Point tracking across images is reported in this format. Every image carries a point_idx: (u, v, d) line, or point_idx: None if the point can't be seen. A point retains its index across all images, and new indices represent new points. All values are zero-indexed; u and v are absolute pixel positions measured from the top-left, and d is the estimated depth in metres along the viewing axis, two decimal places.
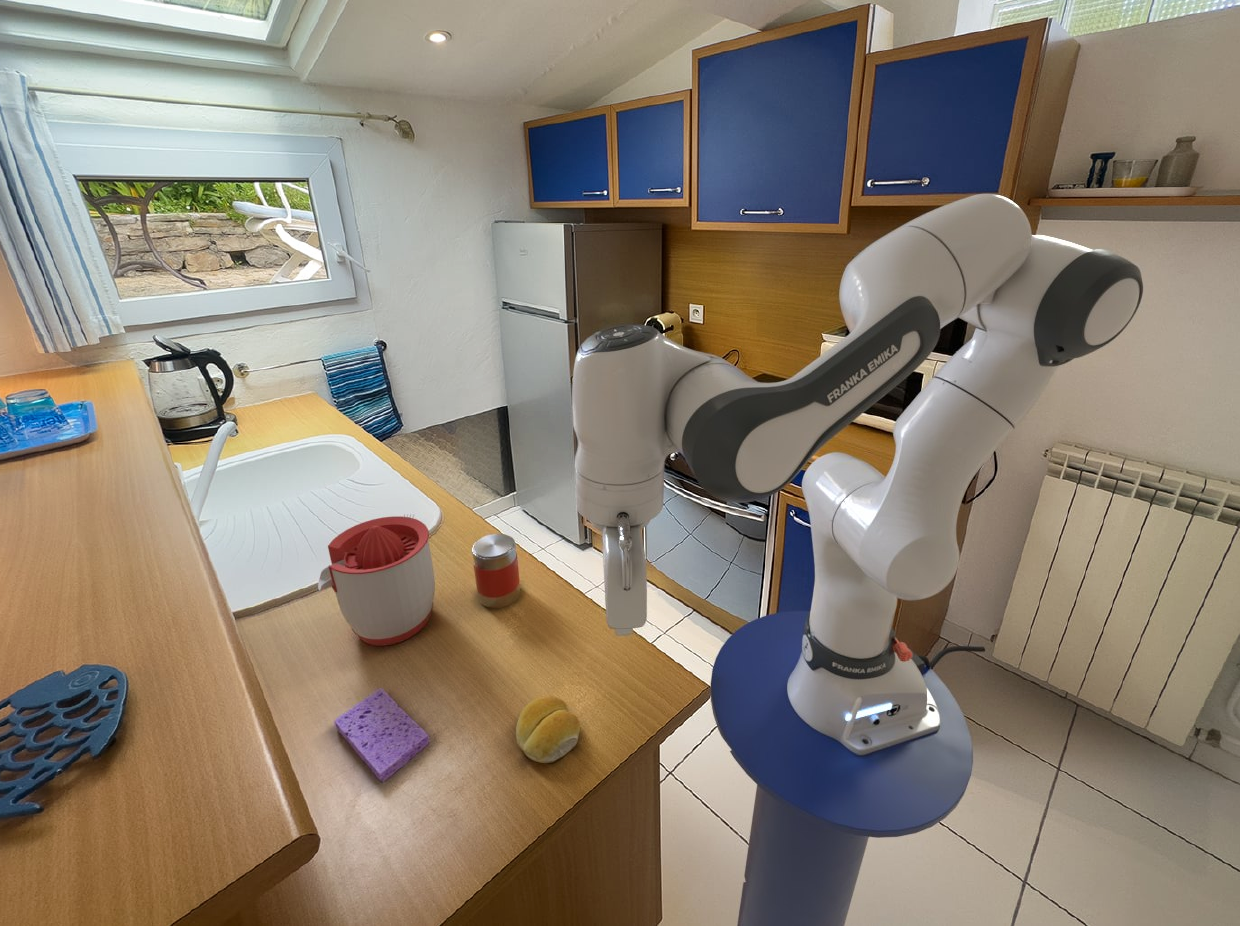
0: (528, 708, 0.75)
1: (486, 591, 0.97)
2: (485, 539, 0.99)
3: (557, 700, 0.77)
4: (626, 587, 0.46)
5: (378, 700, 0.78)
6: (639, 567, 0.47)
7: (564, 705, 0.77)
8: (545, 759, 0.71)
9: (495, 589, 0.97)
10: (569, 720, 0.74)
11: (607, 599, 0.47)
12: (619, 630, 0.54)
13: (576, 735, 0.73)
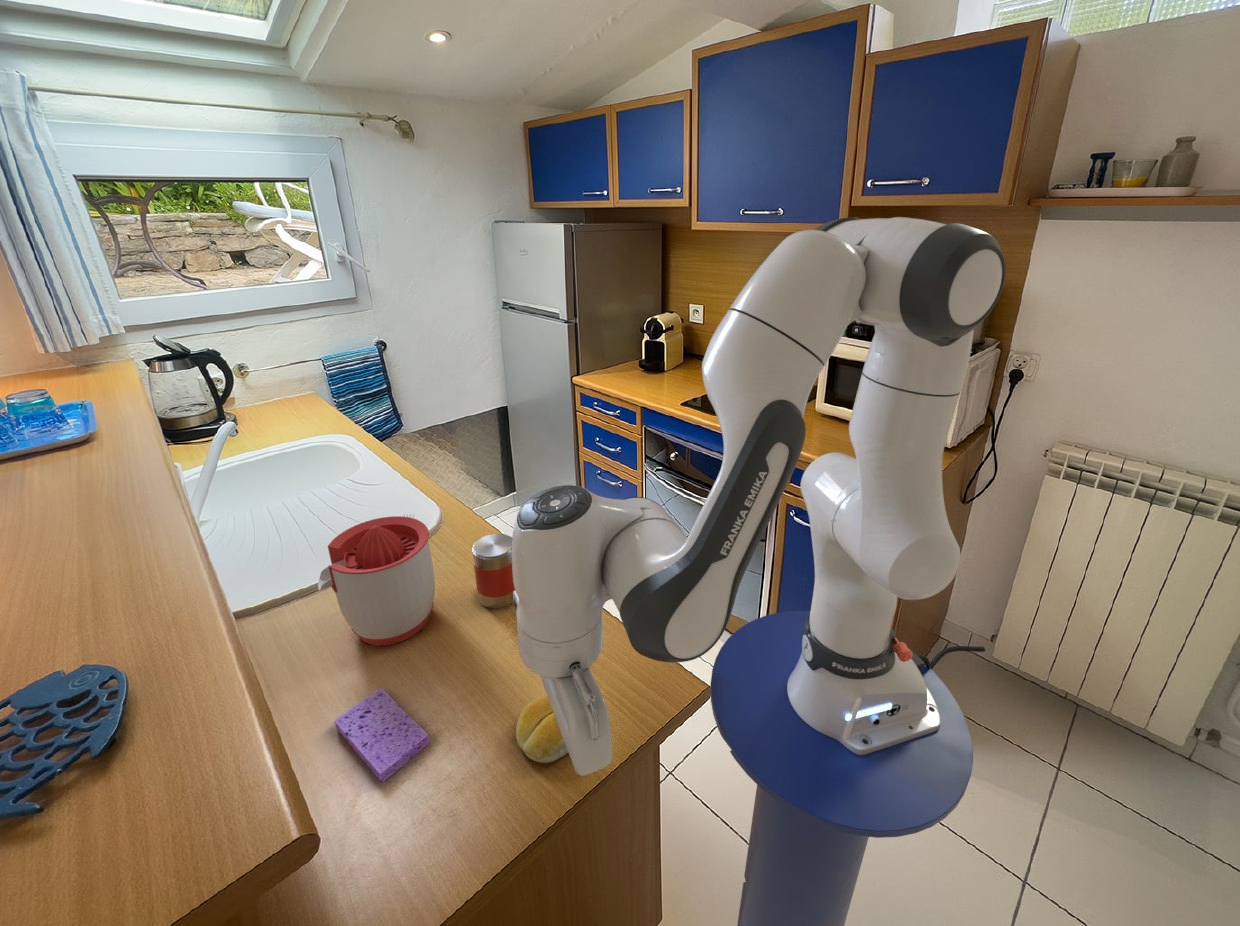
0: (528, 708, 0.75)
1: (486, 591, 0.97)
2: (485, 539, 0.99)
3: None
4: (595, 739, 0.50)
5: (378, 700, 0.78)
6: (603, 716, 0.51)
7: None
8: (545, 759, 0.71)
9: (495, 589, 0.97)
10: None
11: (577, 753, 0.50)
12: None
13: None
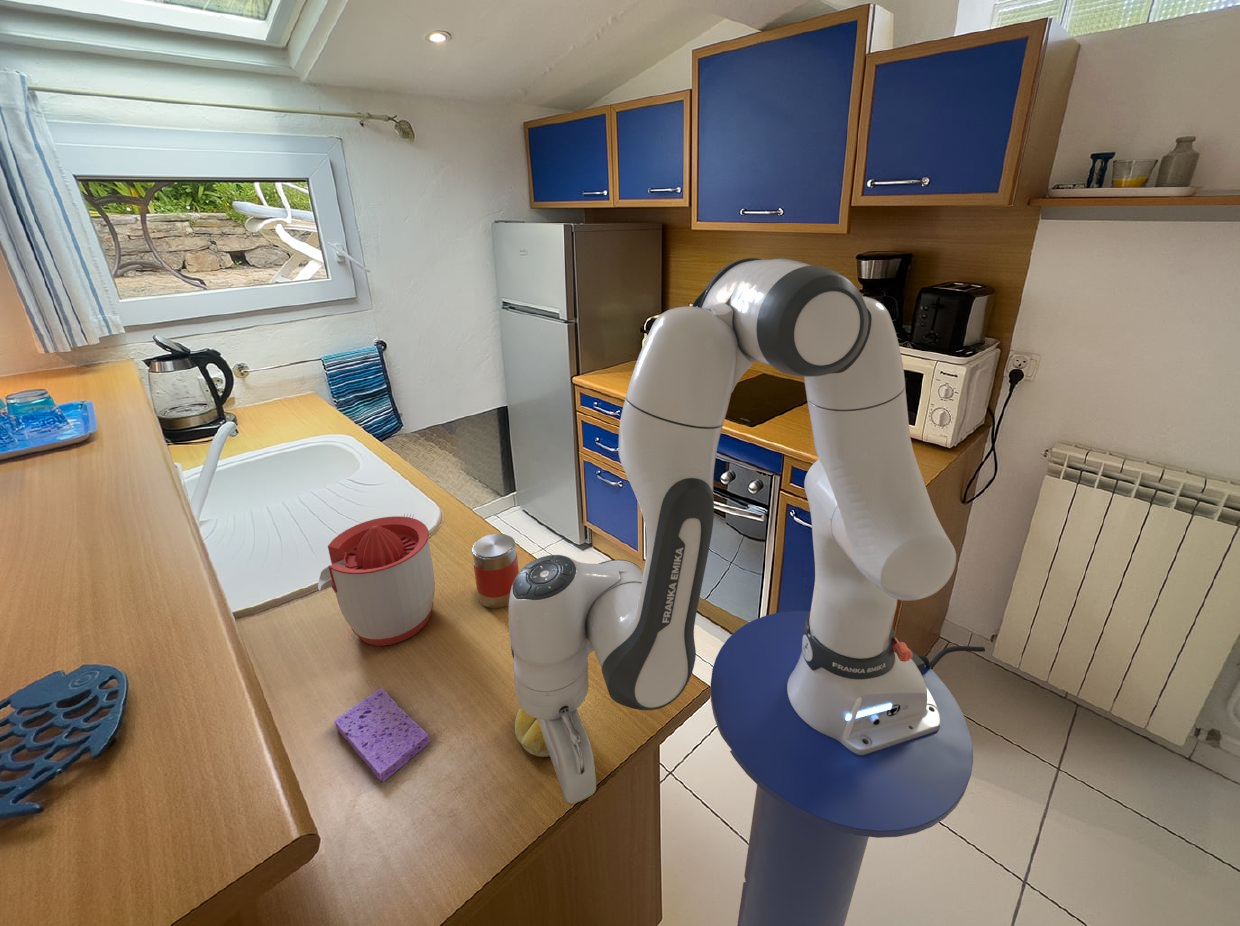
0: None
1: (486, 591, 0.97)
2: (485, 539, 0.99)
3: None
4: (581, 773, 0.59)
5: (378, 700, 0.78)
6: (588, 753, 0.60)
7: None
8: (543, 753, 0.72)
9: (495, 589, 0.97)
10: None
11: (566, 785, 0.59)
12: None
13: None
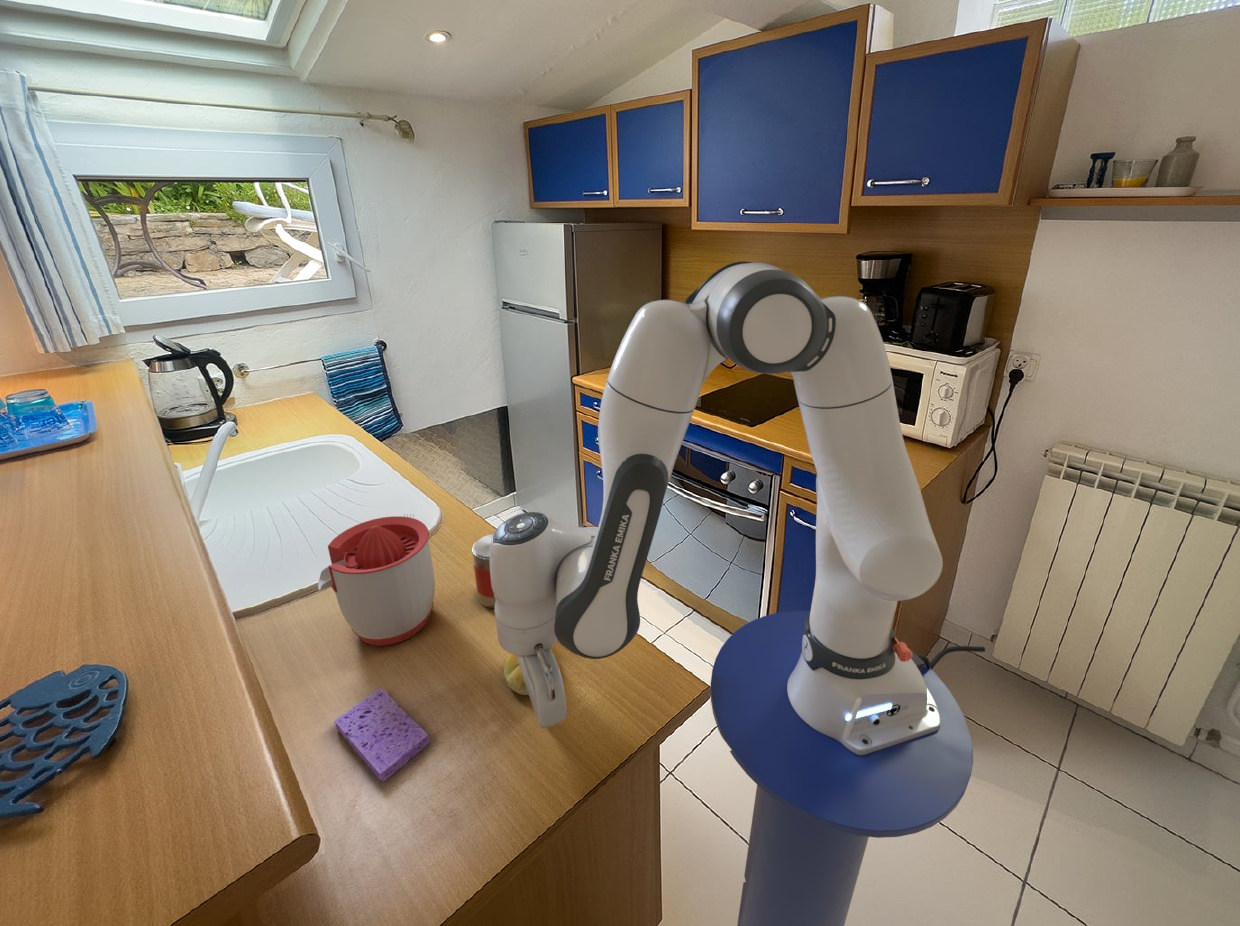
0: None
1: (486, 591, 0.97)
2: (485, 539, 0.99)
3: None
4: (552, 699, 0.67)
5: (378, 700, 0.78)
6: (558, 682, 0.68)
7: None
8: (523, 691, 0.81)
9: None
10: None
11: (539, 710, 0.68)
12: None
13: None
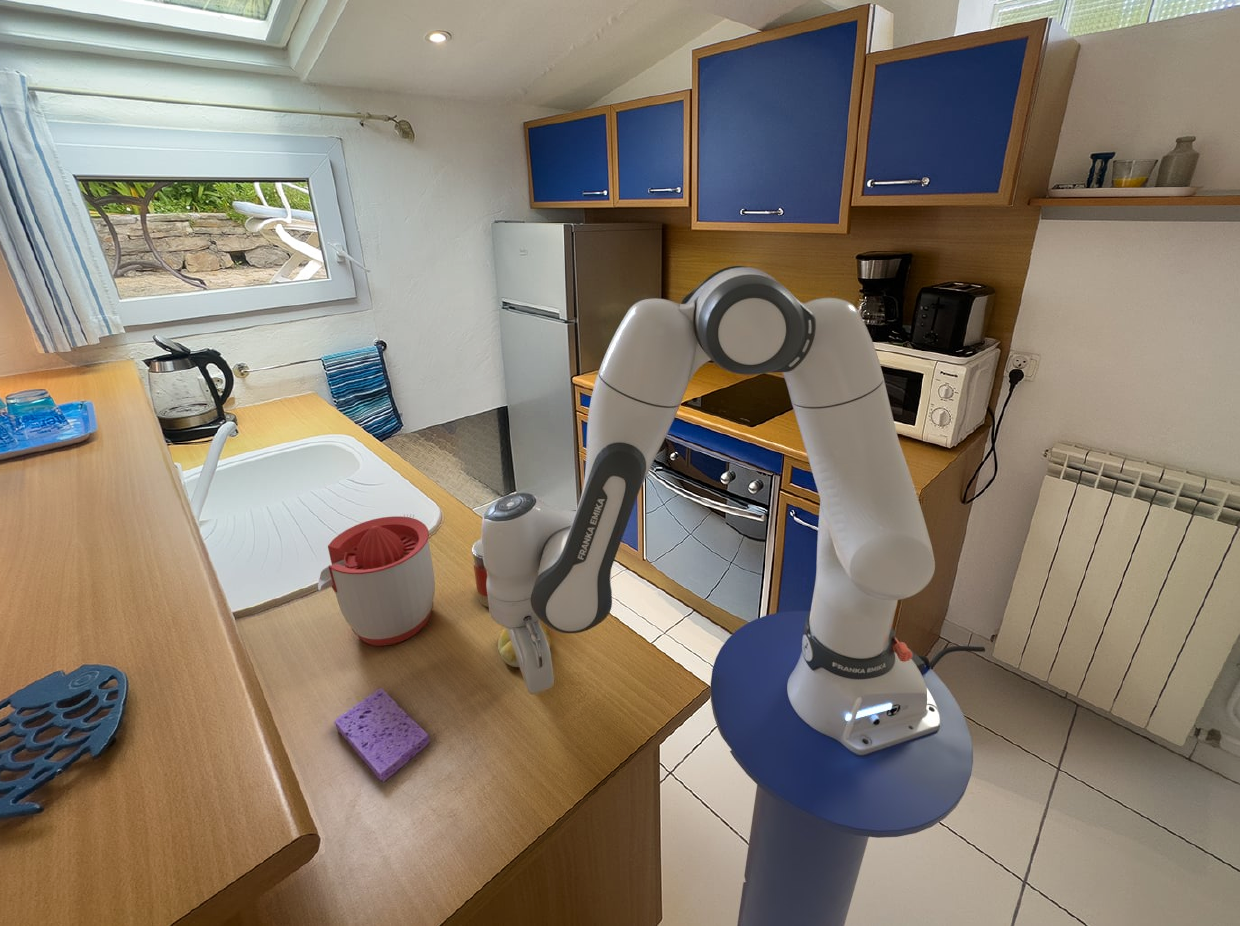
0: None
1: (486, 591, 0.97)
2: None
3: None
4: (540, 666, 0.72)
5: (378, 700, 0.78)
6: (546, 651, 0.73)
7: (542, 627, 0.91)
8: (514, 663, 0.85)
9: None
10: None
11: (527, 677, 0.72)
12: None
13: None
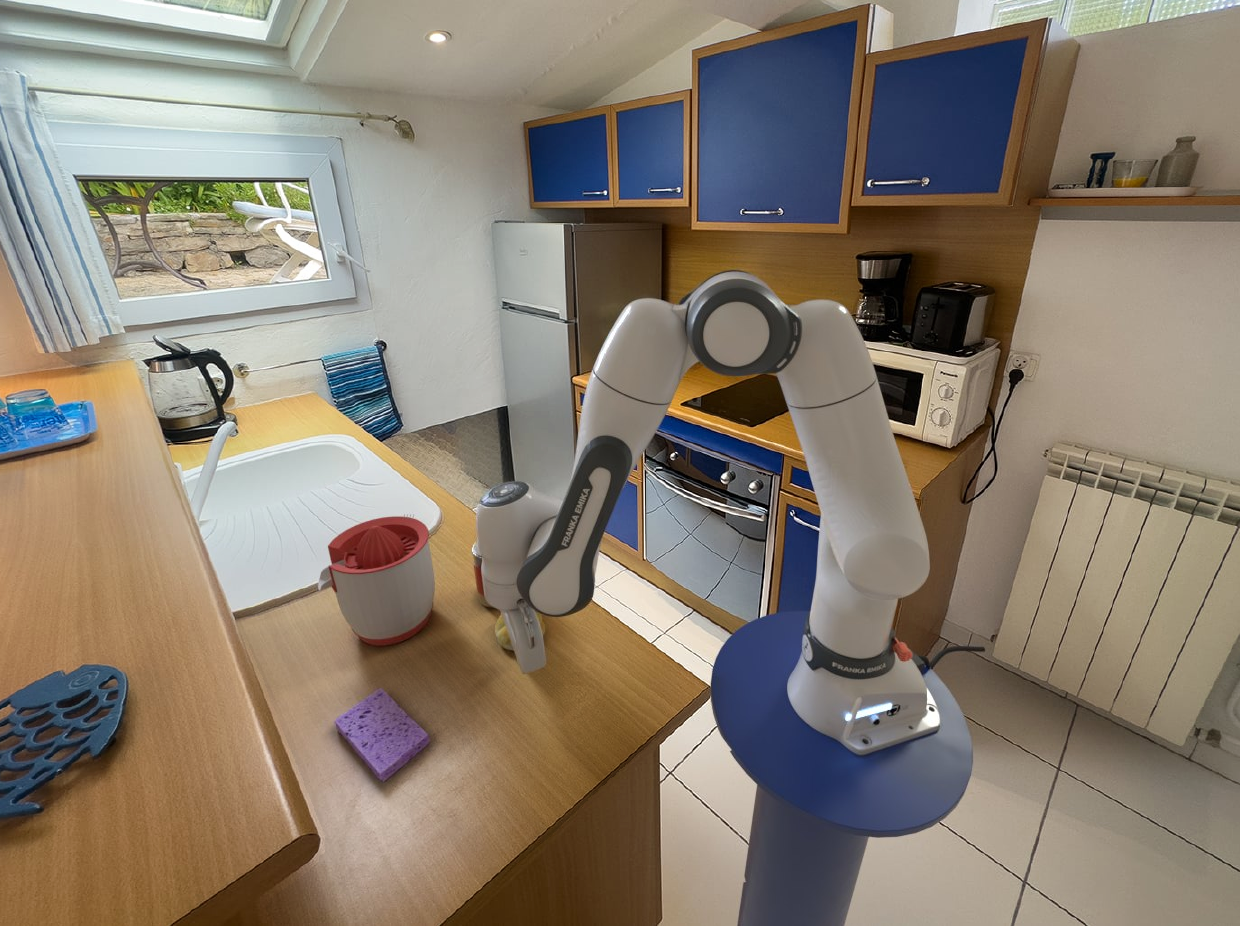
0: None
1: None
2: None
3: None
4: (532, 647, 0.75)
5: (378, 700, 0.78)
6: (538, 632, 0.76)
7: (539, 614, 0.94)
8: (508, 646, 0.88)
9: None
10: None
11: (520, 657, 0.76)
12: None
13: None
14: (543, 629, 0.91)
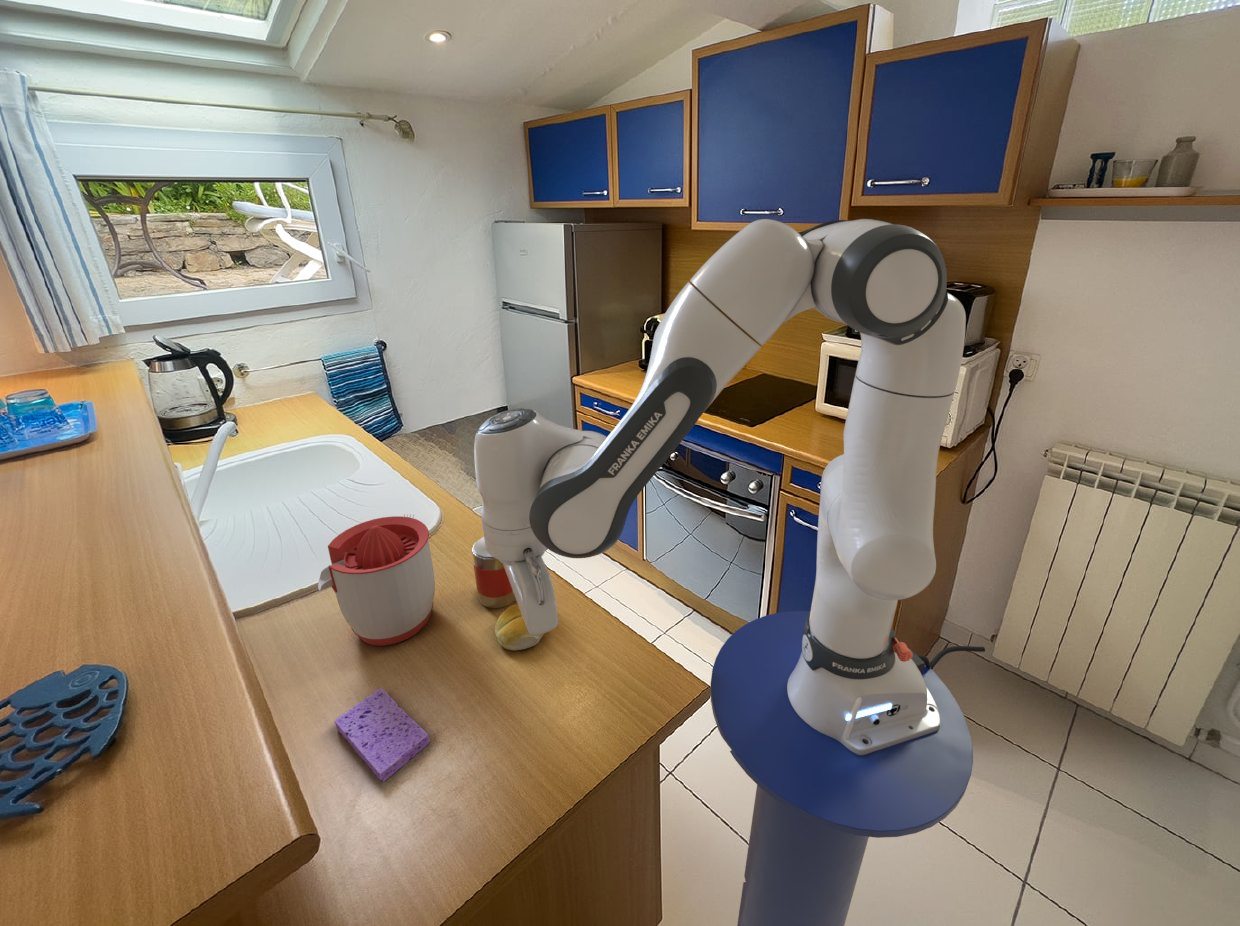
0: (509, 607, 0.94)
1: (486, 591, 0.97)
2: None
3: None
4: (542, 602, 0.63)
5: (378, 700, 0.78)
6: (548, 586, 0.64)
7: None
8: (508, 646, 0.88)
9: (495, 589, 0.97)
10: None
11: (528, 615, 0.63)
12: None
13: (537, 636, 0.90)
14: None
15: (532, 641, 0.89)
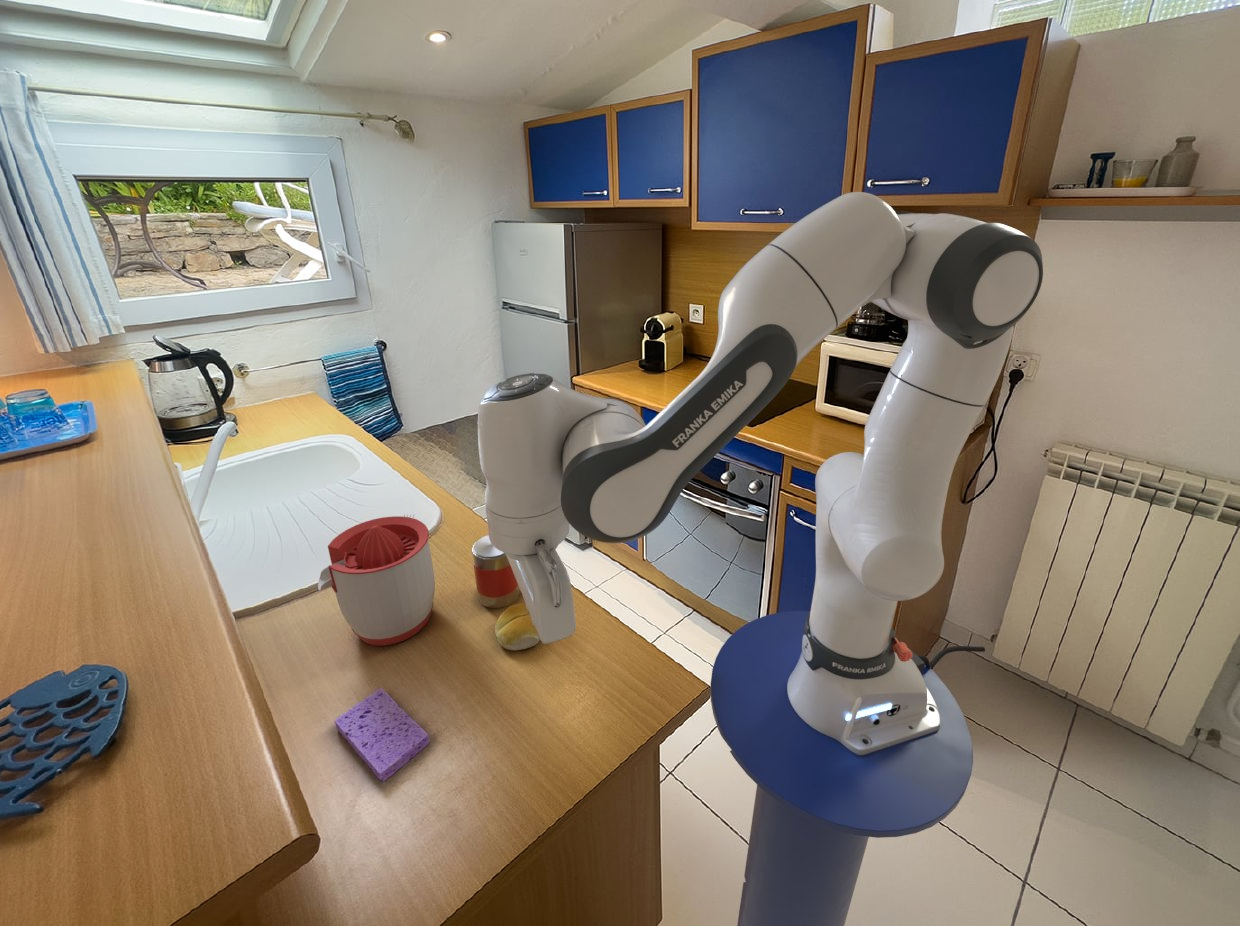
0: (509, 607, 0.94)
1: (486, 591, 0.97)
2: (485, 539, 0.99)
3: None
4: (558, 604, 0.52)
5: (378, 700, 0.78)
6: (565, 584, 0.53)
7: None
8: (508, 646, 0.89)
9: (495, 589, 0.97)
10: None
11: (540, 619, 0.53)
12: None
13: (537, 636, 0.90)
14: None
15: (532, 641, 0.89)
